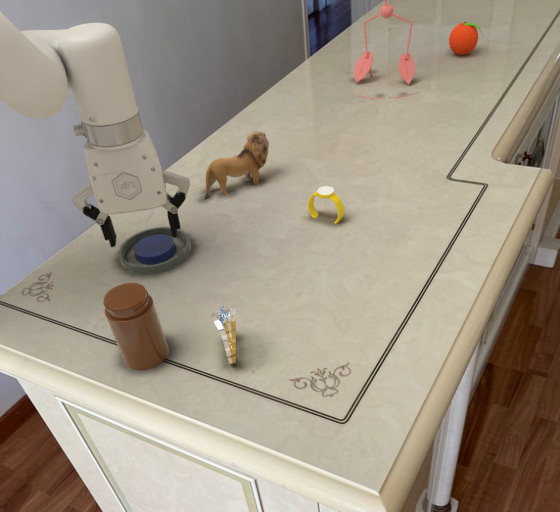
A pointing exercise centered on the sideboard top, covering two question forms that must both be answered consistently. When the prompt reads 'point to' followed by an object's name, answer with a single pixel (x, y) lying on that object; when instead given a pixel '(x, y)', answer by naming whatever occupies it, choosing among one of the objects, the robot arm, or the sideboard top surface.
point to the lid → (154, 249)
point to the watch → (326, 193)
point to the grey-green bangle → (160, 266)
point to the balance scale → (365, 61)
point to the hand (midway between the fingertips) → (144, 237)
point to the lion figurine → (239, 163)
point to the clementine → (463, 38)
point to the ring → (227, 330)
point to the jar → (135, 326)
